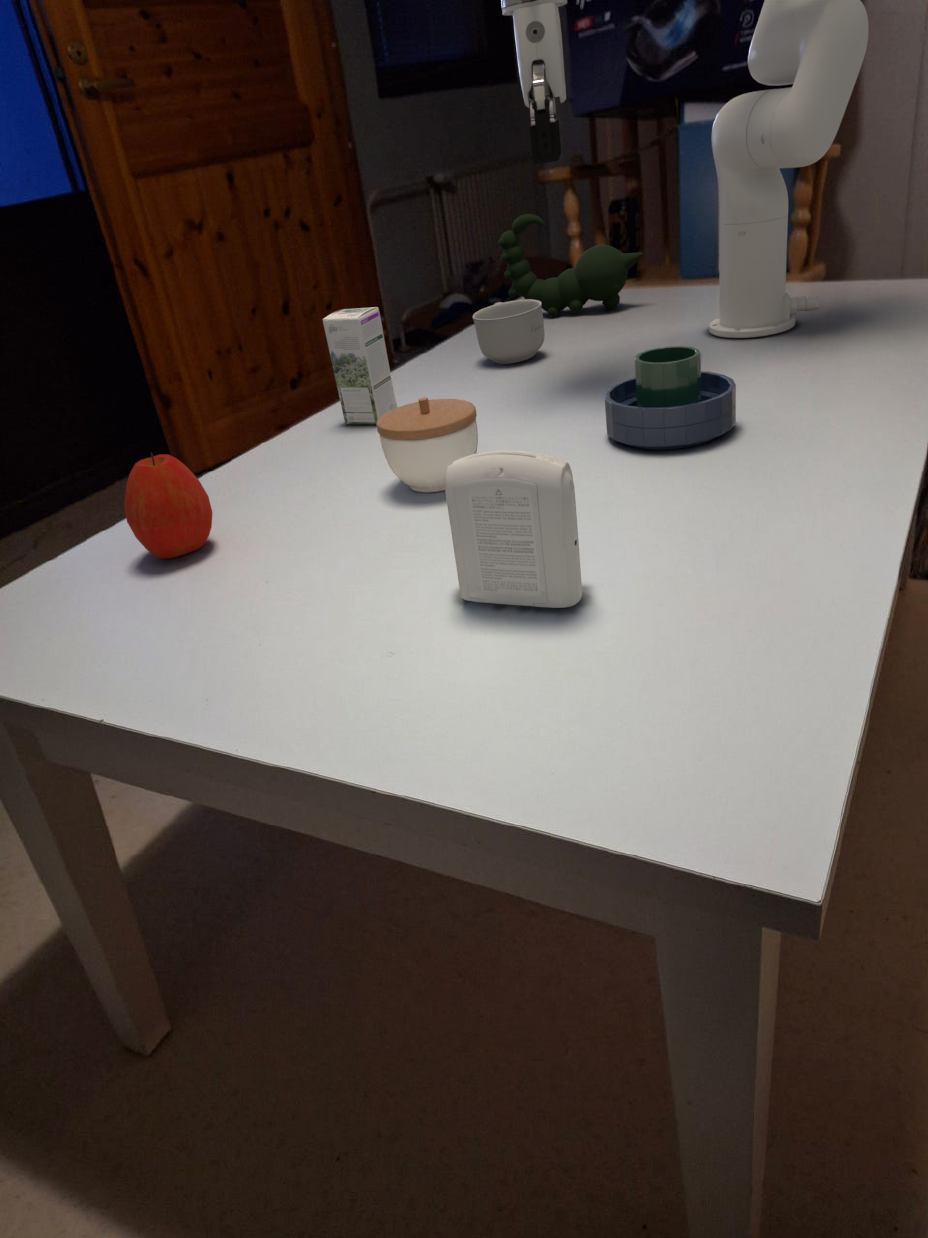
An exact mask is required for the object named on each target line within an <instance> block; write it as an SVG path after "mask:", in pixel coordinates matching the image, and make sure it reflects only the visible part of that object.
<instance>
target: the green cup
mask: <svg viewBox="0 0 928 1238" xmlns="http://www.w3.org/2000/svg"><path fill="white" fill-rule="evenodd" d="M701 355H702V353H701V351H700V349H698V348H696V347H694V346H683V345H673V346H671V345H670V346H661V347H656V348H655V347H654V348H652V349H647V350H644V351H641V352H639V353H637V354H636V355H635V356H634V357H633V359H634V377H635V380H636V400H637V407H645V408H646V407H672V406H682V405H688V404H693V403H697V402H701V371H702V360H701V359H702V356H701Z"/></svg>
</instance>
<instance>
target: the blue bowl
mask: <svg viewBox="0 0 928 1238" xmlns="http://www.w3.org/2000/svg"><path fill="white" fill-rule="evenodd" d="M603 395H604V409H605V423H606V424H605V425H606V434H607V436H608V437H610V438H611V439H612V440H613V441H615V442H619V443H622V444H625V445H628V446H630V447H633V448H638V449H643V450H676V449H684V448H689V447H694V446H698V445H701V444H704V443H707V442H709V441H712V440H714V439H716V438H718V437H721V436H722V435H724V434H726V433H728V432H729V431H730V430H732V429H733V427H734V425H735V423H736V420H737V417H736V416H737V384H736V382H735V381H734V379H733V378H732V377H730V376H728V375H726V374H722V373H718V372H713V371H705V370H701V402H697V403H693V404H688V405H682V406H672V407H646V408H645V407H637V400H636V380H635V376H634V377H631V378H627V379H624V380H621V381H619V382H617V383H615V384H612V385H611V386H609V388H608V389H607V390H606V391H605V392H604V393H603Z"/></svg>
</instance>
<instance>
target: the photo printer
mask: <svg viewBox="0 0 928 1238" xmlns="http://www.w3.org/2000/svg"><path fill="white" fill-rule="evenodd" d="M574 483H575V482H574V477H573V470H572V468H571V464H569V462H568V461H565V460H562V459H560V458H558V457H555V456H551V455H547V454H543V453H539V452H534V451H527V450H526V451H525V450H515V449H514V450H513V449H501V450H499V449H498V450H488V451H482V452H477V453H476V454H473V455H469V456H466V457H463V458H460V459H458V460H456V461H454V462H453V464H452V465H449V466H448V468H447V472H446V480H445V490H444V492H445V499H446V505H447V506H446V507H447V512H448V520H449V526H450V532H451V538H452V546H453V553H454V560H455V565H456V573H457V574H456V575H457V581H458V588H459V593H460V597H461V599H462V600H464V601H469V602H474V603H484V604H485V603H487V604H498V605H510V606H524V607H536V608H553V609H557V608H559V609H560V608H563V609H564V608H571V607H574V606H575V605H577V604H578V603H579V602H580V601H581V600H582V597H583V584H582V569H581V557H580V556H581V555H580V543H579V542H580V541H579V530H578V529H579V528H578V516H577V515H578V514H577V503H576V502H577V501H576V490H575V489H576V488H575V484H574Z"/></svg>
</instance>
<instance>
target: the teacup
mask: <svg viewBox="0 0 928 1238" xmlns="http://www.w3.org/2000/svg"><path fill="white" fill-rule="evenodd" d="M541 307H542V303H541V301H538V300H533V299H525V298H524V299H516V300H510V301H504V302H501V301H498V302H495V303H494V304H493V305H490V306H487V307H484V308H481V309H479V310H478V311H476V312H474V313H473V315H472V317H471V318H472V320H473V323H474V328H475V329H474V330H475V333H476V338H477V342H478V346H479V349H480V351H481V353H482V355H483V356H484V357H486V358H487V359H489V360H491V361H492V362H493V363H495V364H499V365H510V364H516V363H520V362H525V361H527V360H529V359H531V358H533V357H534V356H536V354H537V352H538V351H539V350H540V349H541V348H542V346H543V344H544V341H545V323H544V316H543V309H542V308H541Z"/></svg>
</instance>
